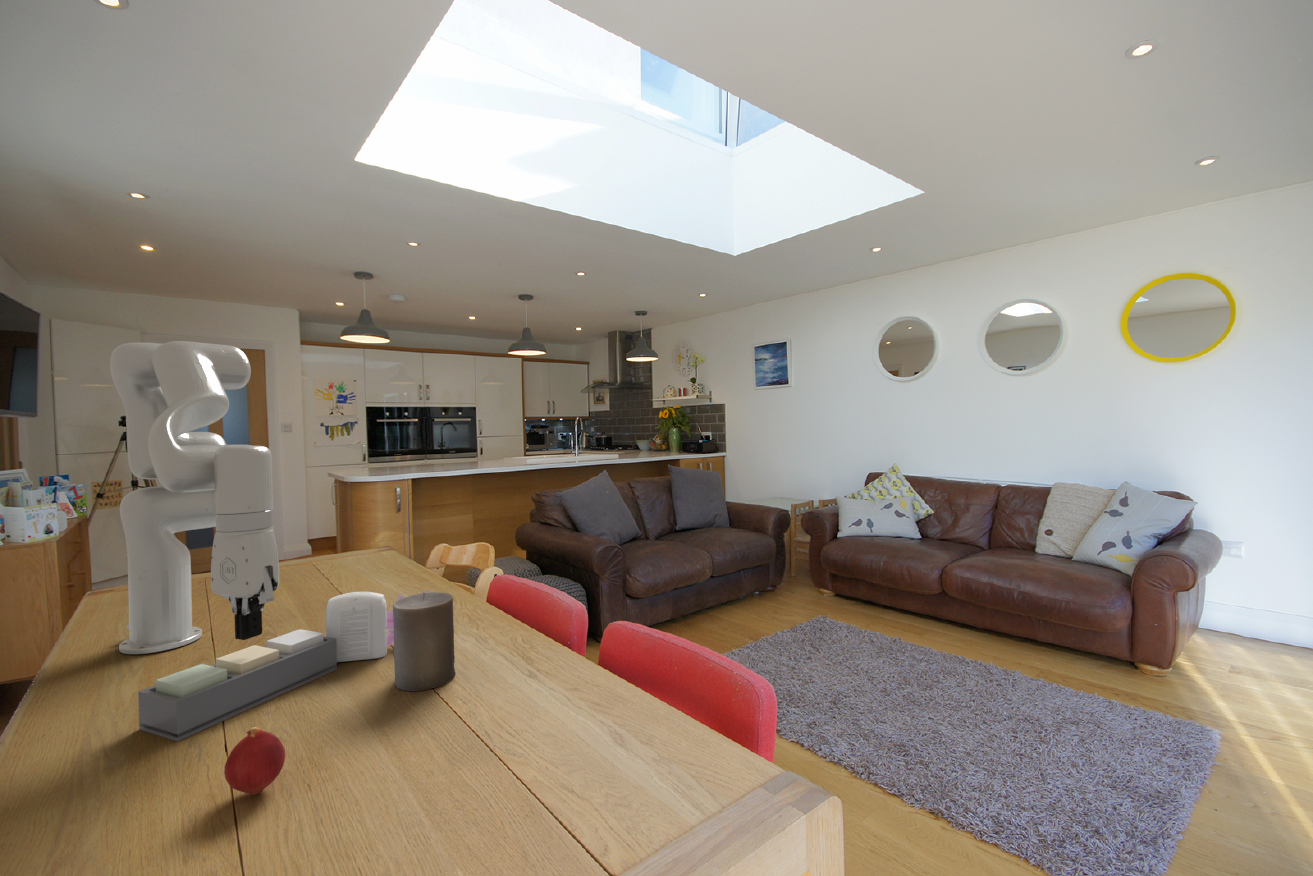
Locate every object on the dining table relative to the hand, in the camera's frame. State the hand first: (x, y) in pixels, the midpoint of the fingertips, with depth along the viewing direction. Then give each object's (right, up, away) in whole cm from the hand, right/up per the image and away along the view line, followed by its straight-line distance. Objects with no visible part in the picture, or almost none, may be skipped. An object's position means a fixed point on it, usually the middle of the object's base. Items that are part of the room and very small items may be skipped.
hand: (248, 636), depth 91 cm
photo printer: (+9, -10, +15) cm, 20 cm away
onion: (+18, -10, -24) cm, 32 cm away
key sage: (-3, -7, -7) cm, 11 cm away
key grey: (+3, -7, +8) cm, 11 cm away
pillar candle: (+26, -10, +6) cm, 28 cm away
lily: (+15, -10, +23) cm, 29 cm away
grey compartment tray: (0, -10, 0) cm, 10 cm away
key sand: (0, -7, 0) cm, 7 cm away
